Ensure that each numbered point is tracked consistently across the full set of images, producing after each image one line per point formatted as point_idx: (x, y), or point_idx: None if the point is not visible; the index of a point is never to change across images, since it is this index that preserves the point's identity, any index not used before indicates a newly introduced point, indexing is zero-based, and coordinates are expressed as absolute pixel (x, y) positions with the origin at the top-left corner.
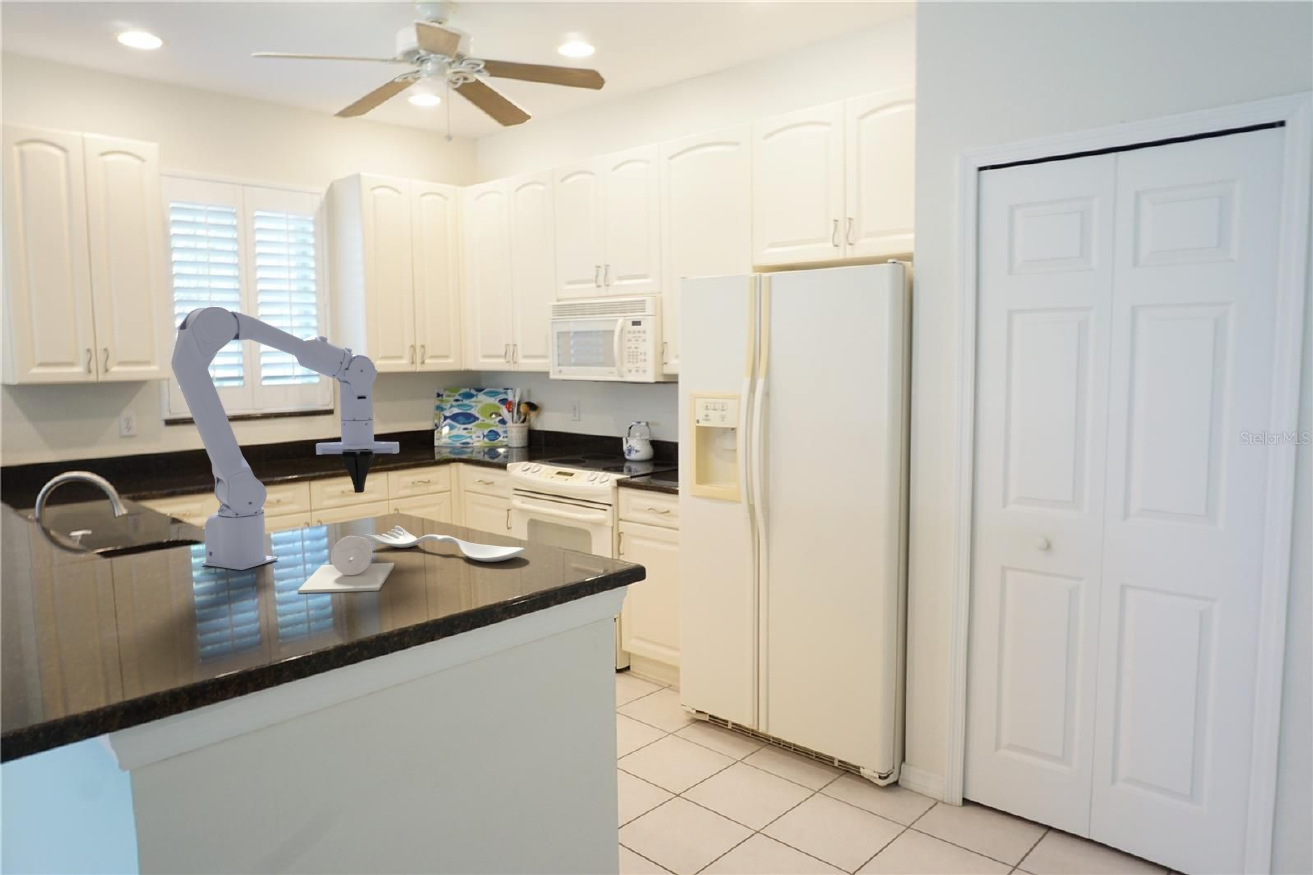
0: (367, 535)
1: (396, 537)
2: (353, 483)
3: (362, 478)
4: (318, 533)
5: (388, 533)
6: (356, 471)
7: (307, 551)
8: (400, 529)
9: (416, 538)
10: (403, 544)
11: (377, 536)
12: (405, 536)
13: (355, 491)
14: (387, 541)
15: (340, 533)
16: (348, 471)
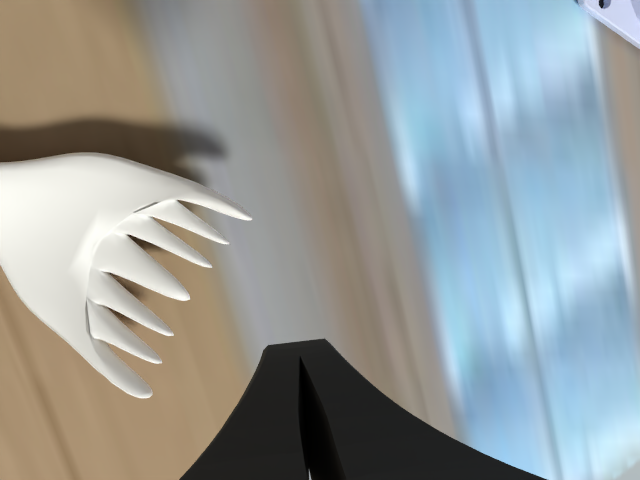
0: (229, 202)
1: (118, 289)
2: (348, 367)
3: (249, 405)
4: (499, 457)
5: (165, 324)
6: (336, 477)
7: (483, 167)
8: (112, 365)
9: (7, 272)
10: (37, 160)
11: (187, 226)
12: (72, 296)
13: (322, 341)
14: (125, 181)
15: None
16: (441, 435)
